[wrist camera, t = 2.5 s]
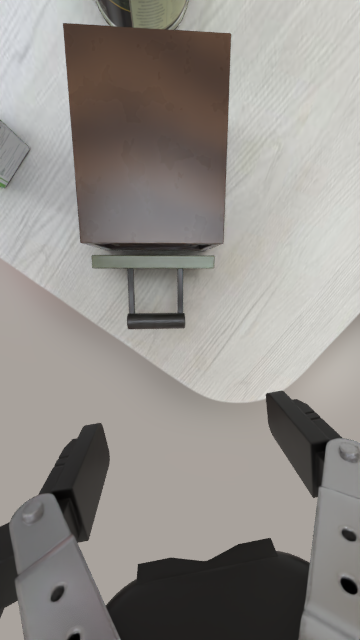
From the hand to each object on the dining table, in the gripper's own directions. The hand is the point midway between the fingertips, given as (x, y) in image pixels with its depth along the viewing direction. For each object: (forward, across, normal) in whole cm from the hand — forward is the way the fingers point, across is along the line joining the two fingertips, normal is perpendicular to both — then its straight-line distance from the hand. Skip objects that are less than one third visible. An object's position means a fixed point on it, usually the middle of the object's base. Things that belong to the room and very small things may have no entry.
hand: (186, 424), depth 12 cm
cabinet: (+23, -1, -17) cm, 29 cm away
